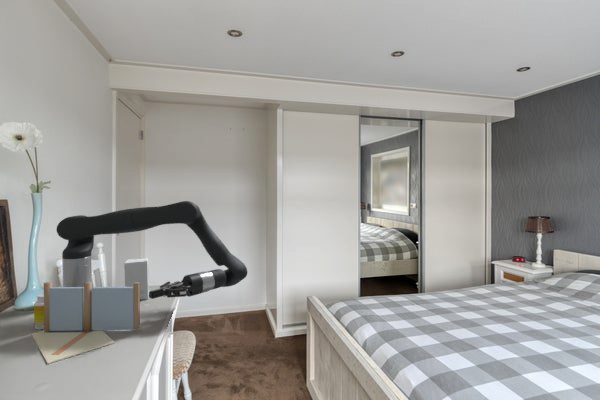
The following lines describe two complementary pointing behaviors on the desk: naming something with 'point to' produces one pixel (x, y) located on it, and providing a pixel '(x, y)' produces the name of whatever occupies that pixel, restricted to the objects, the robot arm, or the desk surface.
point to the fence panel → (116, 308)
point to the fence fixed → (67, 308)
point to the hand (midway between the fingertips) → (150, 295)
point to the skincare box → (138, 275)
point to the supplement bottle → (39, 312)
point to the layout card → (69, 343)
